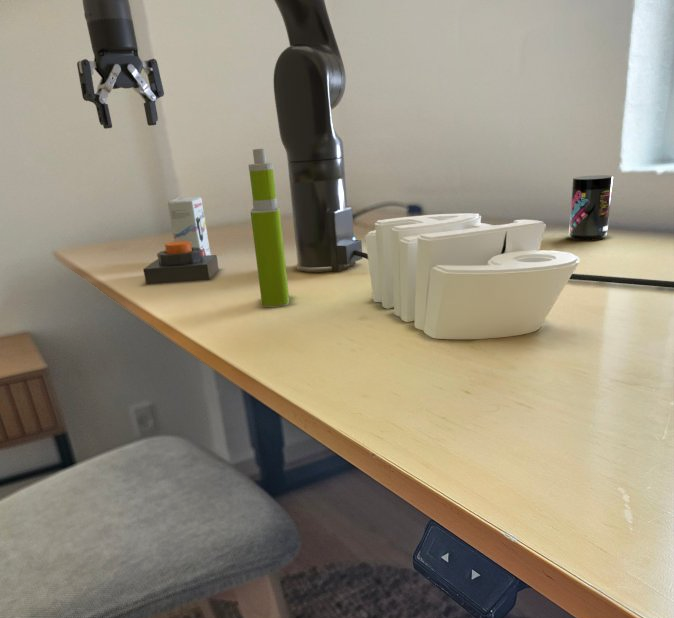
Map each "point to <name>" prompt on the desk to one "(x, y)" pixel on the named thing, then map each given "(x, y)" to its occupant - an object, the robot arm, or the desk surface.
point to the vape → (267, 233)
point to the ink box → (189, 222)
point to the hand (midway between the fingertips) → (130, 126)
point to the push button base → (181, 267)
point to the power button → (178, 247)
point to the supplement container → (590, 207)
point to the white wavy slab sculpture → (466, 274)
